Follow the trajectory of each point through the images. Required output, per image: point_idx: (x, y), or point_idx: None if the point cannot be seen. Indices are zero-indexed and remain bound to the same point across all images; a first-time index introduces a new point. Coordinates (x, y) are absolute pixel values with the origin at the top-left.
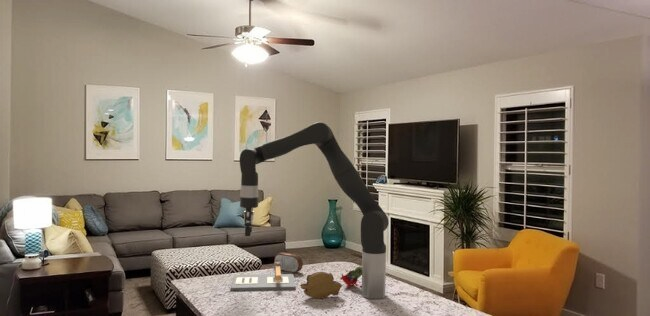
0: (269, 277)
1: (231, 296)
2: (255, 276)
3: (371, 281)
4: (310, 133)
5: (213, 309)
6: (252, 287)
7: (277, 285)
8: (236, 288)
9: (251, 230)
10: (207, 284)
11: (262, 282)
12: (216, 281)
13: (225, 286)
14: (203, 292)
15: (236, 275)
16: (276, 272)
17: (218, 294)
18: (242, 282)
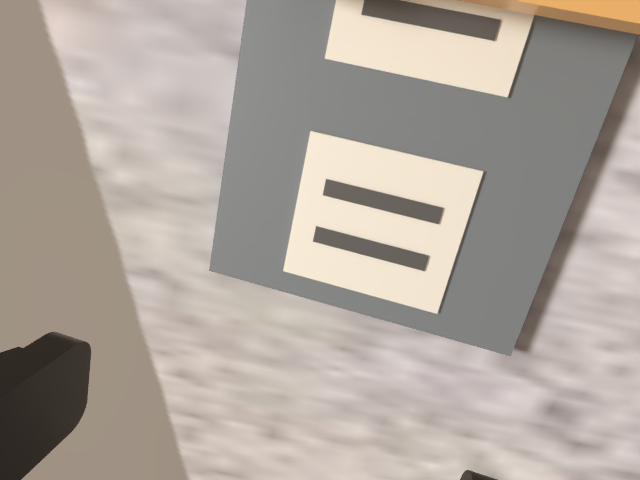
0: (346, 43)
1: (635, 366)
2: (279, 142)
3: None
4: None
5: None
6: (562, 223)
7: None
8: (523, 320)
9: (60, 360)
10: (326, 425)
11: (459, 125)
12: (276, 372)
13: (398, 350)
14: None
15: (226, 260)
16: (578, 4)
17: (555, 420)
18: (426, 265)
